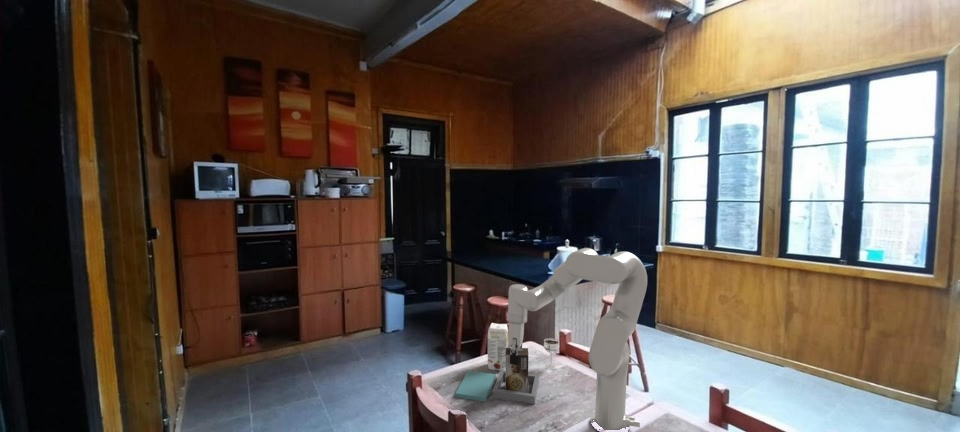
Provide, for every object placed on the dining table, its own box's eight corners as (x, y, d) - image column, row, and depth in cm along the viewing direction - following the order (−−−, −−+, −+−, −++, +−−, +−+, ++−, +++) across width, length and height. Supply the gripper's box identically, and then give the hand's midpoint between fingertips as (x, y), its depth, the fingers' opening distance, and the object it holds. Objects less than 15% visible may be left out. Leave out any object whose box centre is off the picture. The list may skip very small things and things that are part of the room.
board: (495, 377, 161) (495, 374, 161) (485, 401, 144) (485, 397, 144) (468, 373, 164) (468, 370, 164) (455, 397, 147) (455, 393, 147)
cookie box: (528, 386, 155) (528, 347, 153) (528, 395, 149) (529, 355, 147) (505, 384, 156) (505, 346, 154) (504, 393, 150) (505, 354, 148)
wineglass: (560, 371, 167) (560, 344, 166) (544, 370, 167) (545, 344, 166) (557, 363, 174) (557, 338, 173) (542, 363, 174) (542, 337, 173)
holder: (538, 382, 158) (539, 375, 158) (534, 404, 143) (534, 396, 142) (500, 376, 162) (500, 370, 162) (492, 397, 146) (492, 390, 146)
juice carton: (506, 372, 166) (506, 329, 164) (486, 370, 168) (486, 328, 166) (508, 364, 173) (508, 323, 171) (489, 362, 175) (489, 321, 173)
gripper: (511, 308, 159) (510, 347, 161) (503, 323, 142) (502, 367, 144) (529, 310, 157) (528, 349, 159) (524, 326, 140) (522, 370, 142)
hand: (515, 358), depth 151 cm, fingers open, 9 cm apart
